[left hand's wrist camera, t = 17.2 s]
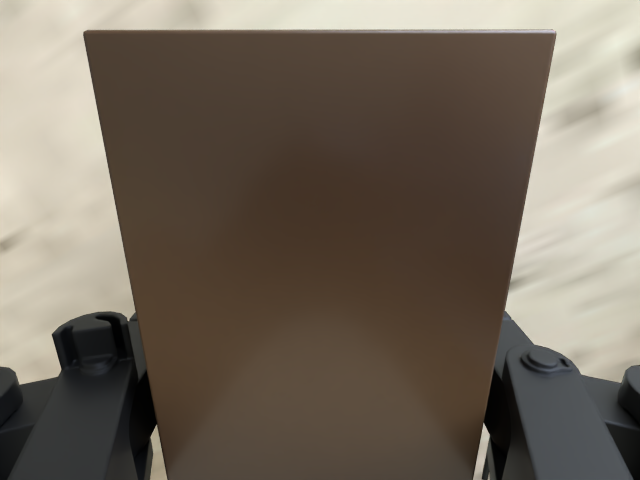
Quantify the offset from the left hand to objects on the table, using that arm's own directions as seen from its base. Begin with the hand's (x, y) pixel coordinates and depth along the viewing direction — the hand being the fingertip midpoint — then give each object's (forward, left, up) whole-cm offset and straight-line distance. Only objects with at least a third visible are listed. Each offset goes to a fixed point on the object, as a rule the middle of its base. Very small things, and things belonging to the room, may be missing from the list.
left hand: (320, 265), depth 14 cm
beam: (+29, -6, -1) cm, 29 cm away
